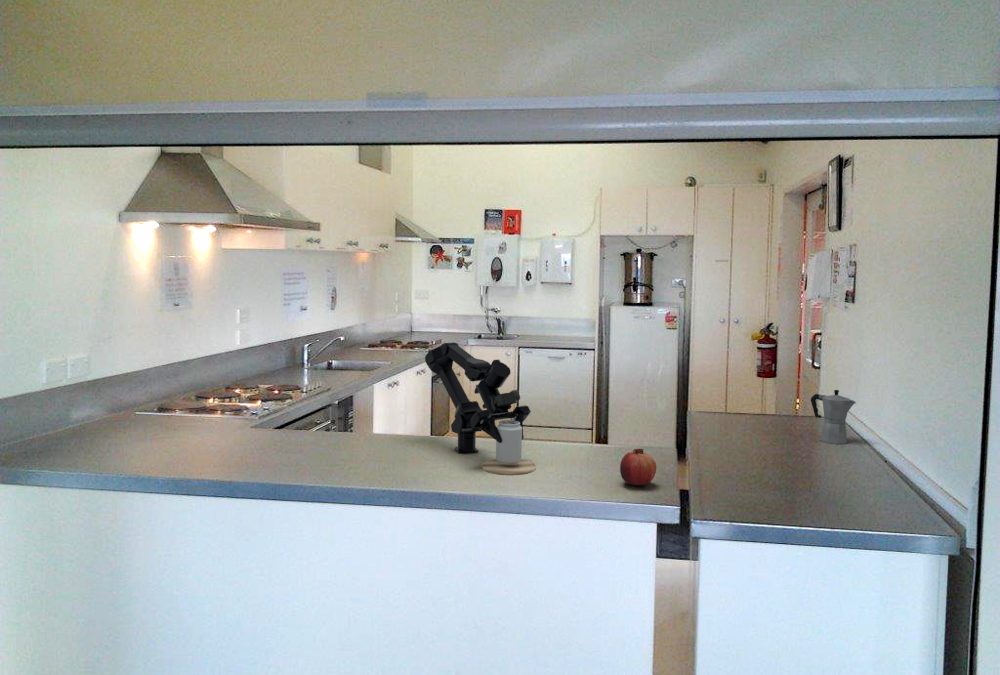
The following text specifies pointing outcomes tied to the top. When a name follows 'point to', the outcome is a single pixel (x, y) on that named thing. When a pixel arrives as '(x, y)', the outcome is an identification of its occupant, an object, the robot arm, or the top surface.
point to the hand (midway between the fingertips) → (511, 440)
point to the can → (509, 442)
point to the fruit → (637, 468)
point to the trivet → (509, 467)
